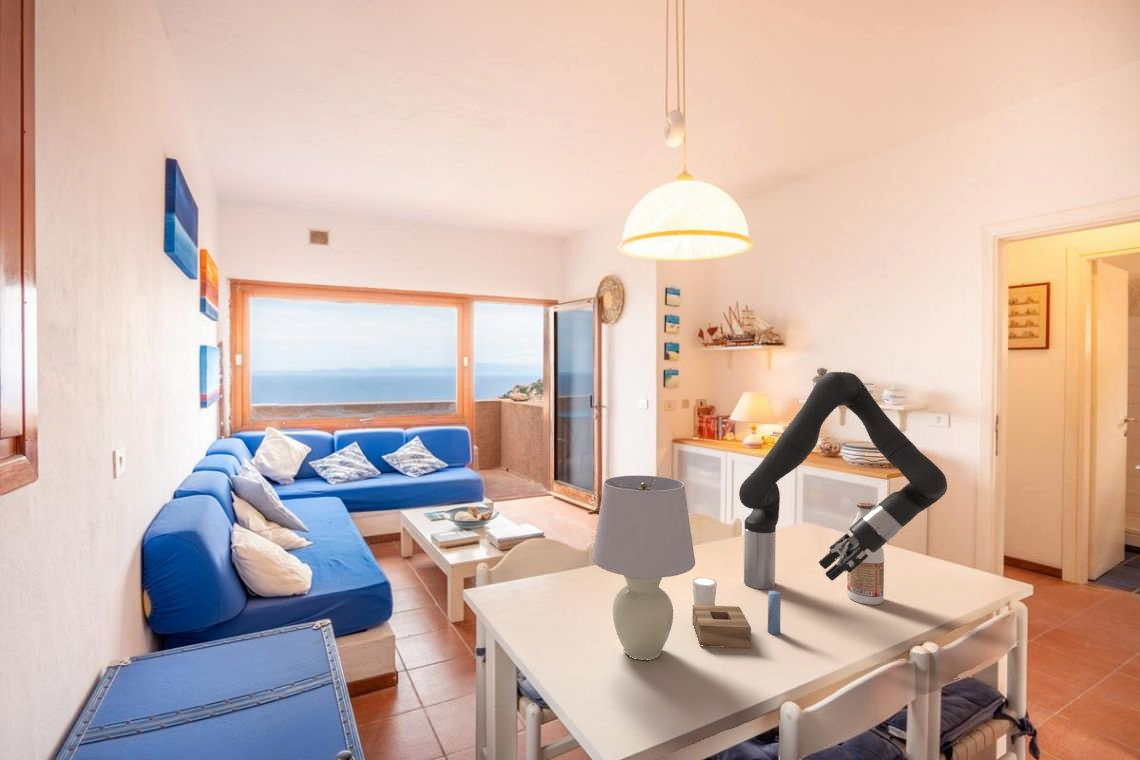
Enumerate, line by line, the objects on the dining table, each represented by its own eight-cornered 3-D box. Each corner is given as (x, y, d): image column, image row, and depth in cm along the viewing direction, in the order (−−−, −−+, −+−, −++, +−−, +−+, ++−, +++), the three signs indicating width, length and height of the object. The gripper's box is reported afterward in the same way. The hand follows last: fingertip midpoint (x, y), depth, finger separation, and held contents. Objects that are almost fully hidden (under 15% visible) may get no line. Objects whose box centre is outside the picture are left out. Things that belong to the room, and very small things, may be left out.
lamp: (622, 689, 116) (623, 497, 115) (575, 638, 138) (576, 477, 137) (716, 666, 125) (717, 488, 125) (658, 622, 147) (659, 471, 147)
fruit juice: (858, 605, 159) (859, 507, 158) (840, 592, 168) (842, 500, 168) (890, 605, 159) (891, 507, 159) (871, 592, 168) (872, 500, 168)
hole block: (692, 623, 146) (692, 604, 146) (739, 625, 146) (739, 606, 146) (699, 646, 134) (700, 625, 134) (750, 648, 134) (750, 627, 134)
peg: (766, 629, 144) (766, 590, 143) (778, 629, 143) (778, 591, 143) (769, 634, 141) (769, 595, 140) (781, 635, 140) (782, 595, 140)
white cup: (702, 612, 153) (703, 587, 153) (686, 603, 159) (686, 579, 159) (721, 608, 157) (722, 583, 156) (705, 599, 163) (705, 575, 163)
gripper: (856, 510, 144) (808, 551, 146) (871, 524, 130) (818, 569, 133) (879, 532, 142) (830, 573, 145) (897, 548, 128) (843, 593, 131)
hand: (824, 571), depth 139 cm, fingers open, 8 cm apart
